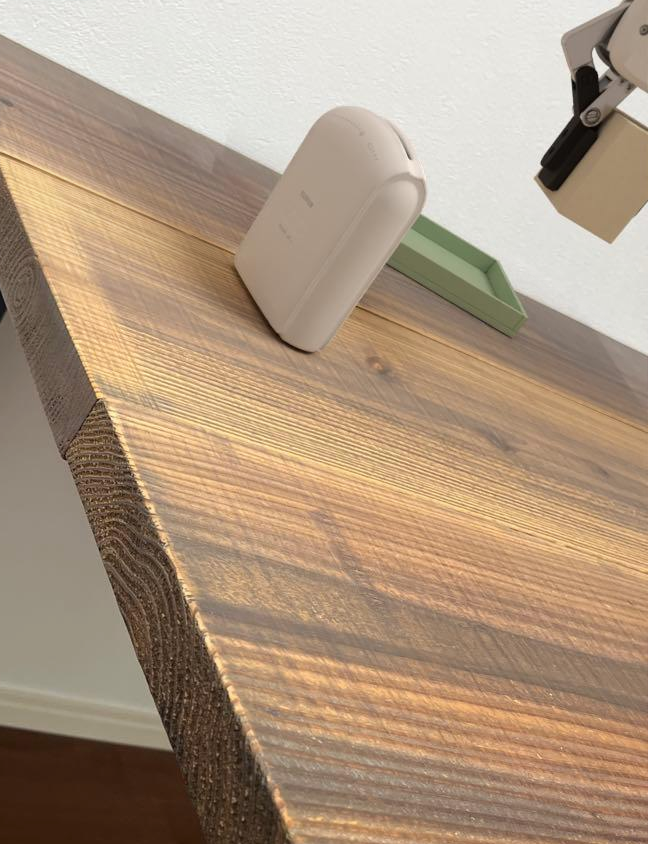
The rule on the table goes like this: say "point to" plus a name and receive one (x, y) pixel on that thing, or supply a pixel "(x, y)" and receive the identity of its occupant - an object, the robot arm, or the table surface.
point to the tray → (459, 274)
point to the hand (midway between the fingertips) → (578, 200)
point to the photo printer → (331, 224)
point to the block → (607, 179)
